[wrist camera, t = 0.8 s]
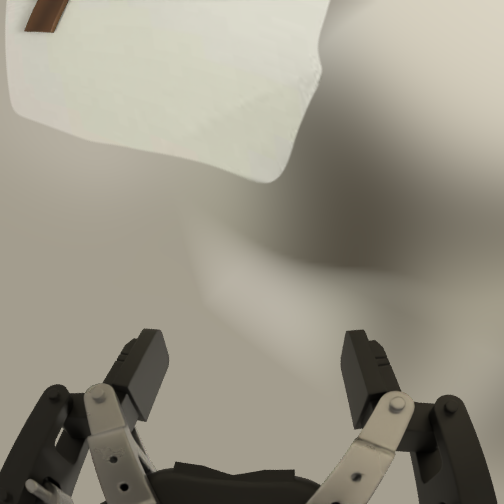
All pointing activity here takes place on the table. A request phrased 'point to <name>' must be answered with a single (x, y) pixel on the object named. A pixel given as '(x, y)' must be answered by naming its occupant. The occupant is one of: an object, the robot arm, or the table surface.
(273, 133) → the table surface
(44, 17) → the coaster
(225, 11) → the table surface
